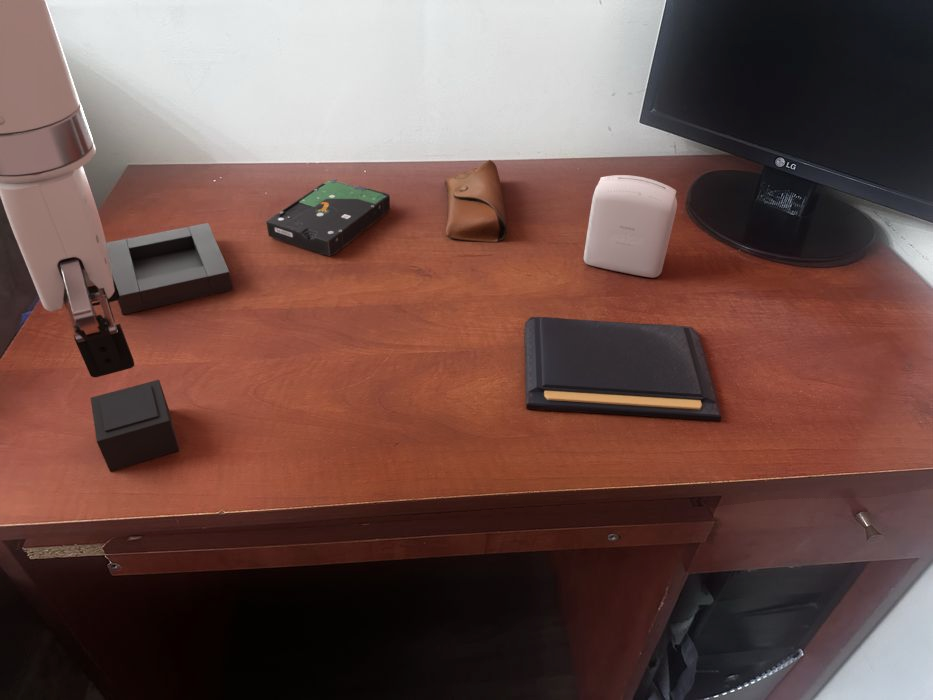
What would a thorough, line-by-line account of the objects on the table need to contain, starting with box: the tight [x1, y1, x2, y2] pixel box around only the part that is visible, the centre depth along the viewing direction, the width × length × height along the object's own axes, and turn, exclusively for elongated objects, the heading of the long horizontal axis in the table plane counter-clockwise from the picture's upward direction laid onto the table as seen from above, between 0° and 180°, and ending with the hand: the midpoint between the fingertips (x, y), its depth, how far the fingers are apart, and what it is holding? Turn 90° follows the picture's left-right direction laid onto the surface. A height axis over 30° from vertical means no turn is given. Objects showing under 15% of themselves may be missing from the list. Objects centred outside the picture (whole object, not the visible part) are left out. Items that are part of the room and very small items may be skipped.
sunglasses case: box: [444, 159, 508, 243], centre depth 102 cm, size 18×7×7 cm, turn 3°
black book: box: [523, 316, 723, 422], centre depth 76 cm, size 20×2×15 cm
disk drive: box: [266, 178, 391, 257], centre depth 97 cm, size 10×3×15 cm
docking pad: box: [106, 222, 234, 316], centre depth 86 cm, size 12×12×3 cm
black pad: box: [90, 379, 180, 472], centre depth 65 cm, size 6×6×4 cm
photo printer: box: [583, 174, 678, 279], centre depth 88 cm, size 10×4×12 cm, turn 70°
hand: (106, 334), depth 59 cm, fingers open, 9 cm apart
